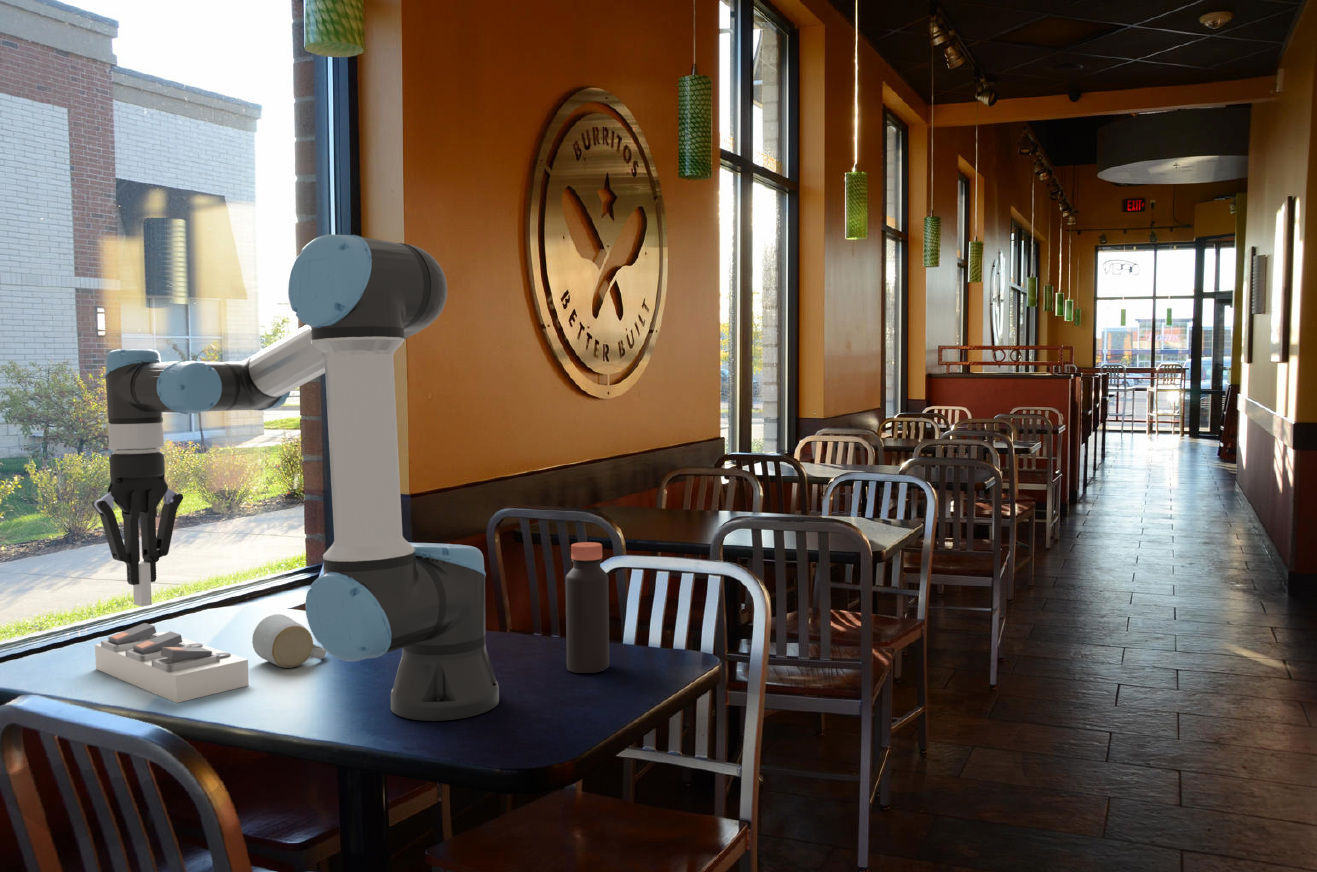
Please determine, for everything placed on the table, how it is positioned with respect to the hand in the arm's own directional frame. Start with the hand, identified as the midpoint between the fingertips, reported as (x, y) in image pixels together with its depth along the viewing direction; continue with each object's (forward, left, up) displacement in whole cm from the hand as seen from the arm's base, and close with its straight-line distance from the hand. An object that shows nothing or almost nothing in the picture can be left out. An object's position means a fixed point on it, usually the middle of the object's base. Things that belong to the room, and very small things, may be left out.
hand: (142, 604), depth 162 cm
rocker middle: (0, -2, -7) cm, 8 cm away
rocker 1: (+9, -2, -7) cm, 12 cm away
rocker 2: (-9, -2, -7) cm, 12 cm away
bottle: (-48, -48, -12) cm, 69 cm away
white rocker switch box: (0, -4, -12) cm, 13 cm away
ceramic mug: (-7, -21, -13) cm, 25 cm away
